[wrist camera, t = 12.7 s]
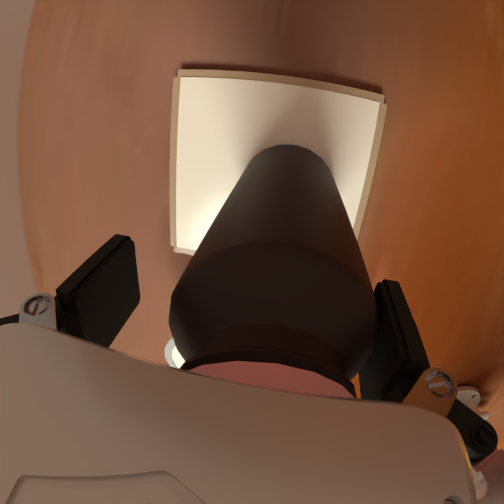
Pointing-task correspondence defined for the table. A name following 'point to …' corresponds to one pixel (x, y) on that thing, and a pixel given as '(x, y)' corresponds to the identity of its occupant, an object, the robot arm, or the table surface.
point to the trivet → (263, 139)
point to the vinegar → (278, 284)
